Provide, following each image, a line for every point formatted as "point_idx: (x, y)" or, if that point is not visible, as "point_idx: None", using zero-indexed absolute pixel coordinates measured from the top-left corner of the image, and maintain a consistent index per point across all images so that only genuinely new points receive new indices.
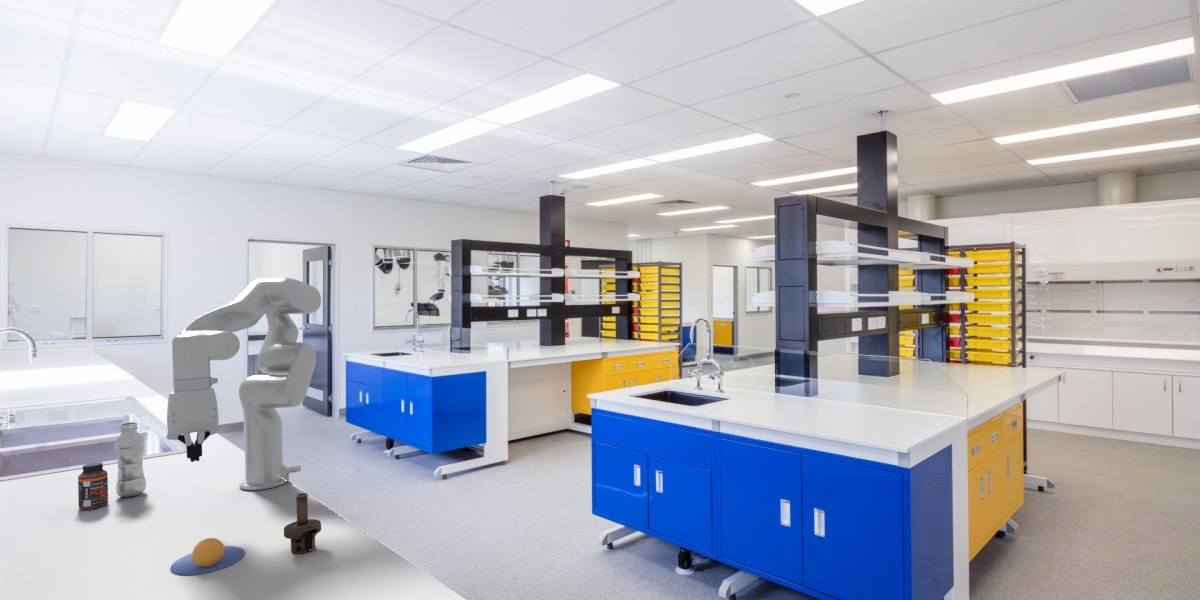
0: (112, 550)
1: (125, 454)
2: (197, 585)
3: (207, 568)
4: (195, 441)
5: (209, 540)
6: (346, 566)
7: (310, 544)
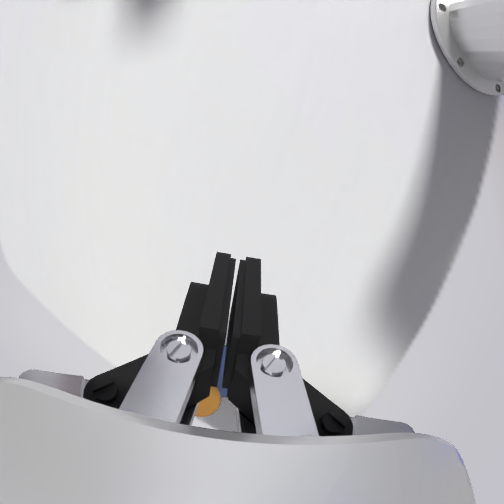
0: (83, 221)
1: None
2: None
3: None
4: (231, 384)
5: (199, 416)
6: None
7: None
